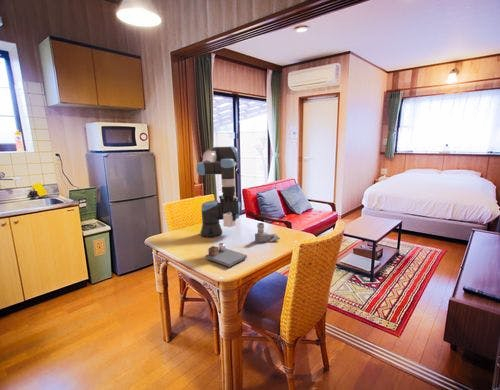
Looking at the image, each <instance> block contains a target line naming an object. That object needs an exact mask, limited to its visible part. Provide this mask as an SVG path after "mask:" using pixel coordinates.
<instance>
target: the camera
mask: <svg viewBox="0 0 500 390" xmlns="http://www.w3.org/2000/svg"><path fill="white" fill-rule="evenodd" d="M256 227H257V233H254V241H255V242H256V244H257V243H258V244H259V243H267V242H270V243H272V242H275V241H278V240H280V239H281V237H279V235H277V234H276V233H267V232H264V231H265V230H264V229H265V223H264V222H258V223H257V226H256Z"/></svg>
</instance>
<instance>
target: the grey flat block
mask: <svg viewBox="0 0 500 390" xmlns="http://www.w3.org/2000/svg"><path fill="white" fill-rule="evenodd" d="M204 257H205V259H207V261H213V262H215V263H218V264H219V265H220V264H221V265H223V266H226V267H227V268H228V269H229V268H232V266H234V265H235V264H237V263H241V261H245V260H246V259H247V258H248V255H247V254H245V253H241V252H239V251H234V250H232V249H228V248H226V247H225V252H219V254H218V255H217V256H215V257H214V256H209V253H208V254H206V255H205V256H204Z"/></svg>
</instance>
